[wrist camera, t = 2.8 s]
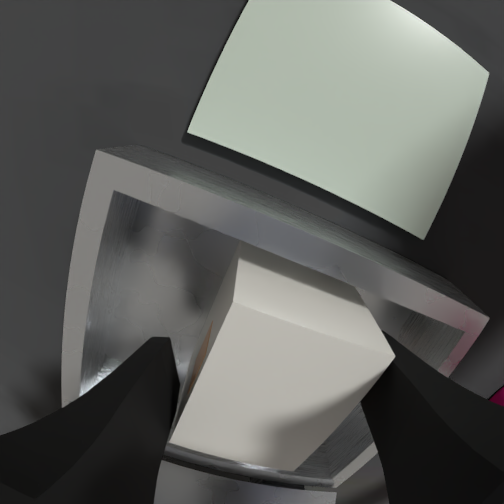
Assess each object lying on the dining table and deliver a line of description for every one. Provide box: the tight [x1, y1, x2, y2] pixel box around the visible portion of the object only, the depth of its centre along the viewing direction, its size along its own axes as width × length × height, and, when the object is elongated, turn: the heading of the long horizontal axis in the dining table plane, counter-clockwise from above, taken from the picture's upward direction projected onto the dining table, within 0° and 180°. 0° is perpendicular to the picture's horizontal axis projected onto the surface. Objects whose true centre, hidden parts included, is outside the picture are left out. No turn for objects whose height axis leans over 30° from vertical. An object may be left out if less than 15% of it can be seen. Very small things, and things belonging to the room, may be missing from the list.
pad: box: [187, 0, 489, 240], centre depth 9 cm, size 9×8×1 cm
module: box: [169, 240, 395, 471], centre depth 10 cm, size 4×6×4 cm
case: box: [61, 145, 490, 490], centre depth 11 cm, size 13×14×5 cm
